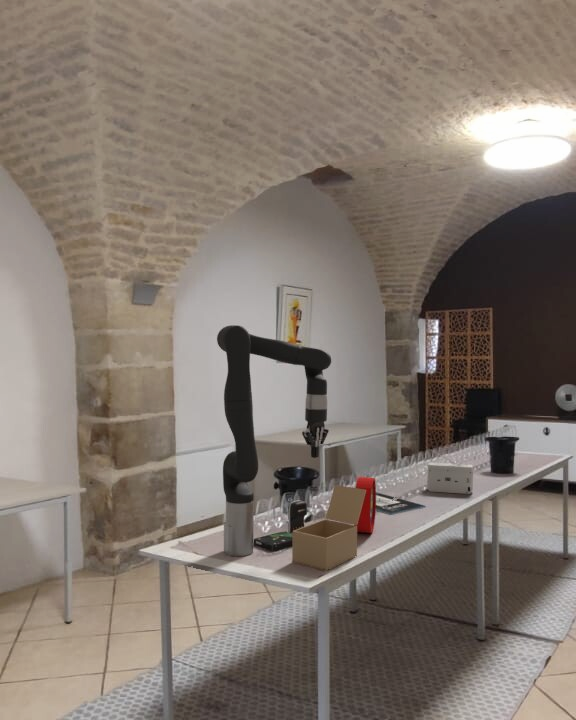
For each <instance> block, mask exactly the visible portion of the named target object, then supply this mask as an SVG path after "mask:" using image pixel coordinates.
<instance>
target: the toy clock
mask: <svg viewBox="0 0 576 720" xmlns="http://www.w3.org/2000/svg"><path fill="white" fill-rule="evenodd" d="M354 488H358V489H364V490H366V493H365V497H364V501H363V505H362V509H361V512H360V516H359V520H358V524H357V525H355V526H357V533H367V534H369V533H370V534H373V533H374V529H375V523H376V522H375V520H376V512H377V511H376V492H377V483H376V478H375V477H366V476H358V477H357V478H356V482H355V487H354Z"/></svg>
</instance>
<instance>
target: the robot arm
mask: <svg viewBox="0 0 576 720" xmlns="http://www.w3.org/2000/svg"><path fill="white" fill-rule="evenodd" d="M216 342H217V345H218V347H219V348H220V349H221V350H222V351H224V352H225V353H226V361H227V376H226V378H225V379H226V380H225V384H224V390H223V391H224V392H223V402H224V403H223V405H224V415H225V417H226V418H225V420H226V422H227V423H228V426H229V429H230V431H231V433H232V436H233V438H234V444H235V450H234V451H231V452H229V453H228V454H227V455H226V456H225V458H224V460H223V462H222V463H223V464H222V481H223V482H222V483H223V484H222V485H223V487H222V488H223V492H224V494H225V522H223V551H224V552H225V554H226V555H227V556H234V557H238V556H239V557H243V556H249V555H251V554H253V553H254V514H255V511H254V507H255V505H254V504H255V499H254V497H255V496H254V495H255V494H254V491H253V490H252V489H251V488H250V486H249V483H250V482H252V481H254V479H256V477H257V475H258V472H259V458H258V453H257V452H258V450H257V446H256V441H255V427H254V411H253V409H254V408H253V407H254V406H253V394H252V381H251V370H250V366H251V365H250V360H251V355H255V356H260V357H264V358H266V359H269V360H274V361H277V362H281V363H285V364H290V365H293V366H303V367H304V373H305V379H306V396H305V406H304V407H305V413H304V414H305V415H304V419H305V421H306V422H307V424H306V430H305V431H302V433H301V435H302V436H303V439H304V440H305V443H306V445H307V446H310V455H311V458H312V459H313V458H314V459H315V458H319V457H320V447H321V445H324V442H325V441H326V438H327V436H328V434H329V431H330V430H329V429H326V427H325V423H326V422H327V420H328V395H327V394H328V381H327V379H326V378H325V377H324V373H323V372H324V371H325V370H327V369H328V368H329V367H330V366H331V364H332V358H331V357H332V356H331V355H330V353H328V352H327V351H326V350H323V349H321V348H315V347H309V346H304V345H300V344H297V343H292V342H290V341H289V342H288V341H284V340H279V339H274V338H273V339H272V338H266V337H263V336H262V337H261V336H258V335H254V334H251V333H249V331H248V330H247V329H246V328H245V327H244V326H241V325H232V324H231V325H227V326H224V327H223V328H221V329H220V330H219V332H218V333H217V335H216Z"/></svg>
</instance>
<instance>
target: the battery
mask: <svg viewBox="0 0 576 720" xmlns="http://www.w3.org/2000/svg"><path fill="white" fill-rule="evenodd" d="M287 510H288V511H287V513H288V514H287V515H288V516H287V518H288V519H287V520H288V522H287V523H288V528H287V529H288V531H287V532H288V533H291V534H293V531H294V530H297V529H299V528H302V527H305V523H304V522H305V516H308V505H307V502H306V501H303V500H300V499H299V500H298V499H297V500H293V501H290V502H289V504H288V509H287Z"/></svg>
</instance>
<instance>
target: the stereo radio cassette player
mask: <svg viewBox="0 0 576 720" xmlns="http://www.w3.org/2000/svg"><path fill="white" fill-rule="evenodd" d="M430 450H431V452H433V453H435V454H437V455H439V456H440V457H442V458H443V459H446V460H447V461H449V462H451V463H449V462H435V461H434V462H432V461H430V462H428V463H427V490H428V491H429V492H430V493H433V492H435V493H449V494H450V493H451V494H463V495H464V494H465V495H470V494H471V493H472V492H473V489H474V465H473V464H470V463H469V464H468V463H467V464H466V463H465V464H464V463H457V462H455V461H452V460H451V459H449V458H447V457H445V455H442V454H441V453H440V454H439V453H438V452H436V451H433V449H430Z"/></svg>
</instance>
